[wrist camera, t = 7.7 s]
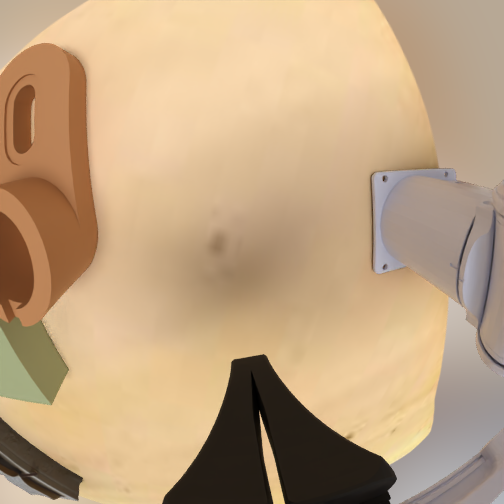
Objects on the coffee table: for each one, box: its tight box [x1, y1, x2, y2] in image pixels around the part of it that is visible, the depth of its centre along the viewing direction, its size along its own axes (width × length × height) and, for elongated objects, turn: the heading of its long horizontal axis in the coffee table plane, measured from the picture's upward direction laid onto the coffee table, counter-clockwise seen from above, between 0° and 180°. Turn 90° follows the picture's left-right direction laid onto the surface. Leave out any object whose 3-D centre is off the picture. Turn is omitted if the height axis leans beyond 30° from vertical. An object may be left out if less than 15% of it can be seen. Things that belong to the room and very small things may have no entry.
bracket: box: [0, 43, 98, 327], centre depth 12 cm, size 18×8×7 cm, turn 3°
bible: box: [0, 418, 83, 501], centre depth 22 cm, size 23×27×10 cm
